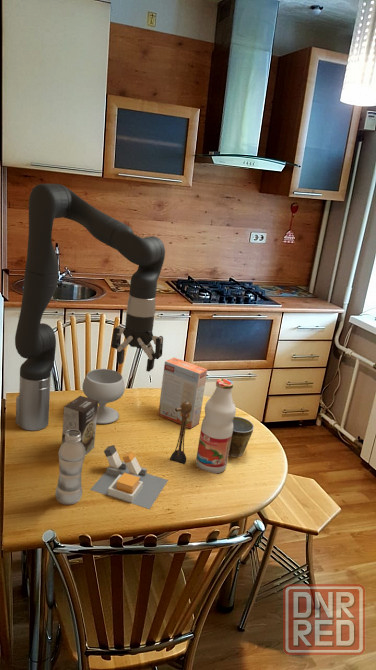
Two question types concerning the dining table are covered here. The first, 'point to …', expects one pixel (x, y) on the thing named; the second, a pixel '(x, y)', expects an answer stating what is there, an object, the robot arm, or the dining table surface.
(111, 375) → the chalice
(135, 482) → the orange cube
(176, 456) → the wooden tabletop sculpture
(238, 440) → the ceramic cup
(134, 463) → the block
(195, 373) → the cracker box
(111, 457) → the breaker
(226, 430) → the fruit juice
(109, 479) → the panel
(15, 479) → the dining table surface
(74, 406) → the coffee box
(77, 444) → the plastic bottle
